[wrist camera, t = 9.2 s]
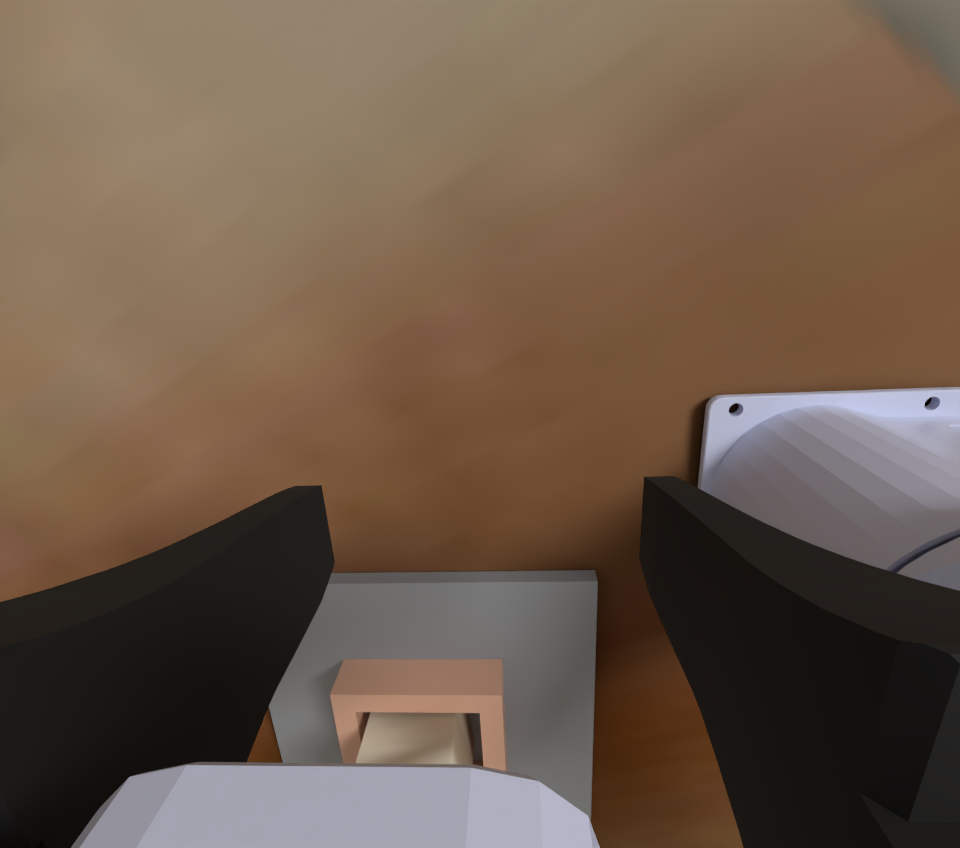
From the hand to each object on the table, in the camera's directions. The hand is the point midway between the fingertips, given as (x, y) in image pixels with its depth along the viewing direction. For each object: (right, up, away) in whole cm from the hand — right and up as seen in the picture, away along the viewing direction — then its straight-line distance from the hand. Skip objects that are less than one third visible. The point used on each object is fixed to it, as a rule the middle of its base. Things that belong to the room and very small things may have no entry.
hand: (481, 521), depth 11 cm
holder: (-2, -12, +14) cm, 19 cm away
